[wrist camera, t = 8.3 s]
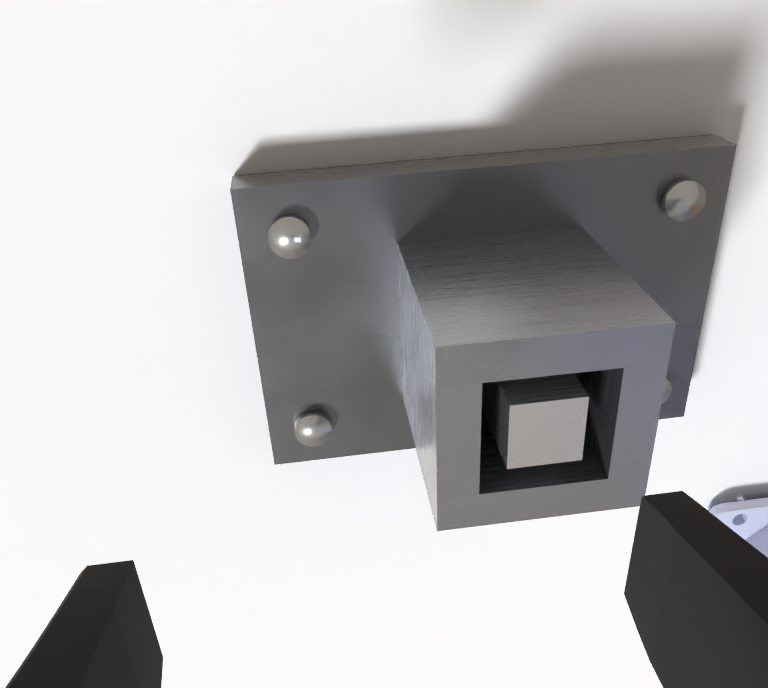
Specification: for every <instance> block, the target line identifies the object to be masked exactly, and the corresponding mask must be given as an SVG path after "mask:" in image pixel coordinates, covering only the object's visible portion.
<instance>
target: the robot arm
mask: <svg viewBox="0 0 768 688" xmlns="http://www.w3.org/2000/svg"><path fill="white" fill-rule="evenodd" d="M624 595H625V597H626V600H627V603H628V605H629V608H630V611H631V613H632V616H633V619H634V622H635V624H636V627H637V630H638V632H639V635H640V637H641V640H642V642H643V645H644V647H645V650H646V652H647V655H648V657H649V660H650V662H651V664H652V666H653V668H654V670H655V672H656V674H657V676H658V678H659V680H660V682H661V684H662V686H663V688H768V497H767V498H759V499H751V500H744V501H736V502H728V503H721V504H718V505H716V506H714V507H712V508H711V509H710V510H709V511H708V510H706V509H705V508H704V507H703V506H701V505H700V504H699V503H697V502H696V501H695V500H693V499H692V498H691V497H689V496H688V495H687V494H686V493H684V492H683V491H679V492H671V493H663V494H655V495H647V496H642V498H641V504H640V509H639V515H638V520H637V526H636V531H635V537H634V542H633V548H632V553H631V559H630V564H629V570H628V575H627V581H626V586H625V592H624ZM162 664H163V656H162V653H161V649H160V646H159V643H158V640H157V636H156V633H155V630H154V627H153V623H152V620H151V617H150V614H149V610H148V607H147V604H146V601H145V597H144V594H143V591H142V588H141V584H140V581H139V578H138V575H137V571H136V568H135V565H134V562H133V560H131V561H123V562H115V563H107V564H99V565H91V566H87V567H86V568H85V569H84V570H83V571H82V572H81V574H80V575H79V577H78V578H77V580H76V581H75V583H74V585H73V586H72V588H71V589H70V591H69V592H68V594H67V596H66V597H65V599H64V600H63V602H62V604H61V605H60V607H59V608H58V610H57V611H56V613H55V614H54V616H53V618H52V619H51V621H50V622H49V624H48V625H47V627H46V628H45V630H44V632H43V633H42V635H41V636H40V638H39V639H38V641H37V642H36V644H35V645H34V647H33V648H32V650H31V651H30V653H29V654H28V656H27V657H26V659H25V660H24V662H23V663H22V665H21V666H20V668H19V669H18V671H17V672H16V673H15V675H14V676H13V678H12V679H11V681H10V682H9V683H8V685H7V686H6V688H161V679H162Z"/></svg>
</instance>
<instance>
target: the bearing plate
mask: <svg viewBox="0 0 768 688" xmlns="http://www.w3.org/2000/svg"><path fill="white" fill-rule="evenodd" d="M735 148H736V145H735V144H733V143H731V142H729V141H727V140H725V139H723V138H721V137H719V136H717V135H704V136H693V137H681V138H669V139H658V140H646V141H635V142H623V143H611V144H600V145H588V146H576V147H565V148H553V149H541V150H530V151H518V152H507V153H495V154H483V155H472V156H460V157H448V158H437V159H425V160H413V161H402V162H390V163H379V164H367V165H355V166H344V167H332V168H320V169H309V170H297V171H285V172H274V173H262V174H251V175H239V176H233V177H232V183H231V189H230V190H231V196H232V203H233V209H234V215H235V221H236V227H237V234H238V240H239V246H240V252H241V258H242V265H243V271H244V277H245V283H246V289H247V296H248V302H249V308H250V314H251V320H252V327H253V333H254V339H255V345H256V351H257V357H258V364H259V370H260V376H261V382H262V388H263V395H264V401H265V407H266V413H267V419H268V426H269V432H270V438H271V444H272V450H273V457H274V463H275V464H284V463H292V462H301V461H309V460H318V459H326V458H335V457H343V456H351V455H360V454H368V453H377V452H385V451H394V450H402V449H411V448H416V447H415V443H414V439H413V435H412V431H411V427H410V423H409V419H408V416H407V412H406V408H405V404H404V400H403V375H402V349H401V323H400V297H399V270H398V244H397V243H408V242H419V241H430V240H441V239H452V238H463V237H474V236H485V235H497V234H508V233H519V232H530V231H541V230H552V229H563V228H574V227H582V228H583V229H584V230H585V231H586V232H587V233H588V234H589V235H590V236H591V237H592V238H593V239H594V240H595V241H596V242H597V243H598V244H599V245H600V246H601V247H602V248H603V249H604V250H605V251H606V252H607V253H608V254H609V255H610V256H611V257H612V258H613V259H614V260H615V261H616V262H617V263H618V264H619V265H620V266H621V267H622V268H623V269H624V270H625V271H626V272H627V273H628V274H629V275H630V276H631V277H632V278H633V280H634V281H635V282H636V283H637V284H638V285H639V286H640V287H641V288H642V289H643V290H644V291H645V292H646V293H647V294H648V295H649V296H650V297H651V298H652V299H653V300H654V301H655V302H656V303H657V304H658V305H659V306H660V307H661V308H662V309H663V310H664V311H665V312H666V313H667V314H668V315H669V316H670V317H671V318H672V319H673V320H674V321H675V322H676V324H675V330H674V335H673V341H672V347H671V352H670V358H669V363H668V369H667V375H666V380H665V386H664V391H663V397H662V403H661V408H660V414H659V419H665V418H674V417H682V416H684V412H685V406H686V401H687V396H688V391H689V386H690V381H691V375H692V370H693V365H694V360H695V355H696V350H697V344H698V339H699V334H700V329H701V324H702V319H703V314H704V308H705V303H706V298H707V293H708V288H709V283H710V277H711V272H712V267H713V262H714V257H715V252H716V246H717V241H718V236H719V231H720V226H721V221H722V216H723V210H724V205H725V200H726V195H727V190H728V185H729V179H730V174H731V169H732V164H733V159H734V154H735ZM588 402H589V396H588V394H587V393H586V391H585V389H584V388H583V386H582V385H581V383H580V382H579V380H578V379H577V377H576V376H575V374H574V373H572V374H562V375H553V376H544V377H534V378H525V379H516V380H506V381H497V382H488V383H482V410H483V413H484V415H485V417H486V420H487V422H488V425H489V427H490V429H491V432H492V434H493V437H494V439H495V442H496V444H497V446H498V449H499V451H500V454H501V456H502V458H503V461H504V463H505V466H506V468H507V469H512V468H520V467H529V466H537V465H545V464H553V463H561V462H570V461H578V460H582V456H583V447H584V438H585V429H586V420H587V411H588Z"/></svg>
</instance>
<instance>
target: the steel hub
mask: <svg viewBox="0 0 768 688" xmlns="http://www.w3.org/2000/svg"><path fill="white" fill-rule="evenodd" d="M397 244H398V270H399V297H400V323H401V349H402V375H403V400H404V404H405V408H406V412H407V416H408V419H409V423H410V427H411V431H412V435H413V439H414V443H415V447H416V450H417V454H418V458H419V462H420V466H421V470H422V474H423V478H424V481H425V485H426V489H427V493H428V497H429V501H430V505H431V509H432V512H433V516H434V520H435V524H436V528H437V531H441V530H450V529H458V528H466V527H474V526H482V525H490V524H498V523H506V522H514V521H522V520H530V519H538V518H546V517H554V516H563V515H571V514H579V513H587V512H595V511H603V510H611V509H619V508H627V507H635V506H640V504H641V498H642V496H645V492H646V486H647V481H648V475H649V470H650V464H651V458H652V453H653V447H654V442H655V436H656V431H657V425H658V419H659V414H660V408H661V403H662V397H663V391H664V386H665V380H666V375H667V369H668V363H669V358H670V352H671V347H672V341H673V335H674V330H675V324H676V322H675V321H674V320H673V319H672V318H671V317H670V316H669V315H668V314H667V313H666V312H665V311H664V310H663V309H662V308H661V307H660V306H659V305H658V304H657V303H656V302H655V301H654V300H653V299H652V298H651V297H650V296H649V295H648V294H647V293H646V292H645V291H644V290H643V289H642V288H641V287H640V286H639V285H638V284H637V283H636V282H635V281H634V280H633V278H632V277H631V276H630V275H629V274H628V273H627V272H626V271H625V270H624V269H623V268H622V267H621V266H620V265H619V264H618V263H617V262H616V261H615V260H614V259H613V258H612V257H611V256H610V255H609V254H608V253H607V252H606V251H605V250H604V249H603V248H602V247H601V246H600V245H599V244H598V243H597V242H596V241H595V240H594V239H593V238H592V237H591V236H590V235H589V234H588V233H587V232H586V231H585V230H584V229H583V228H582V227H574V228H563V229H552V230H541V231H530V232H519V233H508V234H497V235H485V236H474V237H463V238H452V239H441V240H430V241H419V242H408V243H397ZM572 373H574V374H575V376H576V377H577V379H578V380H579V382H580V383H581V385H582V386H583V388H584V389H585V391H586V393H587V394H588V396H589V402H588V411H587V420H586V429H585V438H584V447H583V456H582V460H578V461H570V462H561V463H553V464H545V465H537V466H529V467H520V468H512V469H507V468H506V466H505V463H504V461H503V458H502V456H501V454H500V451H499V449H498V446H497V444H496V442H495V439H494V437H493V434H492V432H491V429H490V427H489V425H488V422H487V420H486V417H485V415H484V413H483V410H482V383H488V382H497V381H506V380H516V379H525V378H534V377H544V376H553V375H562V374H572Z"/></svg>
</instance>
